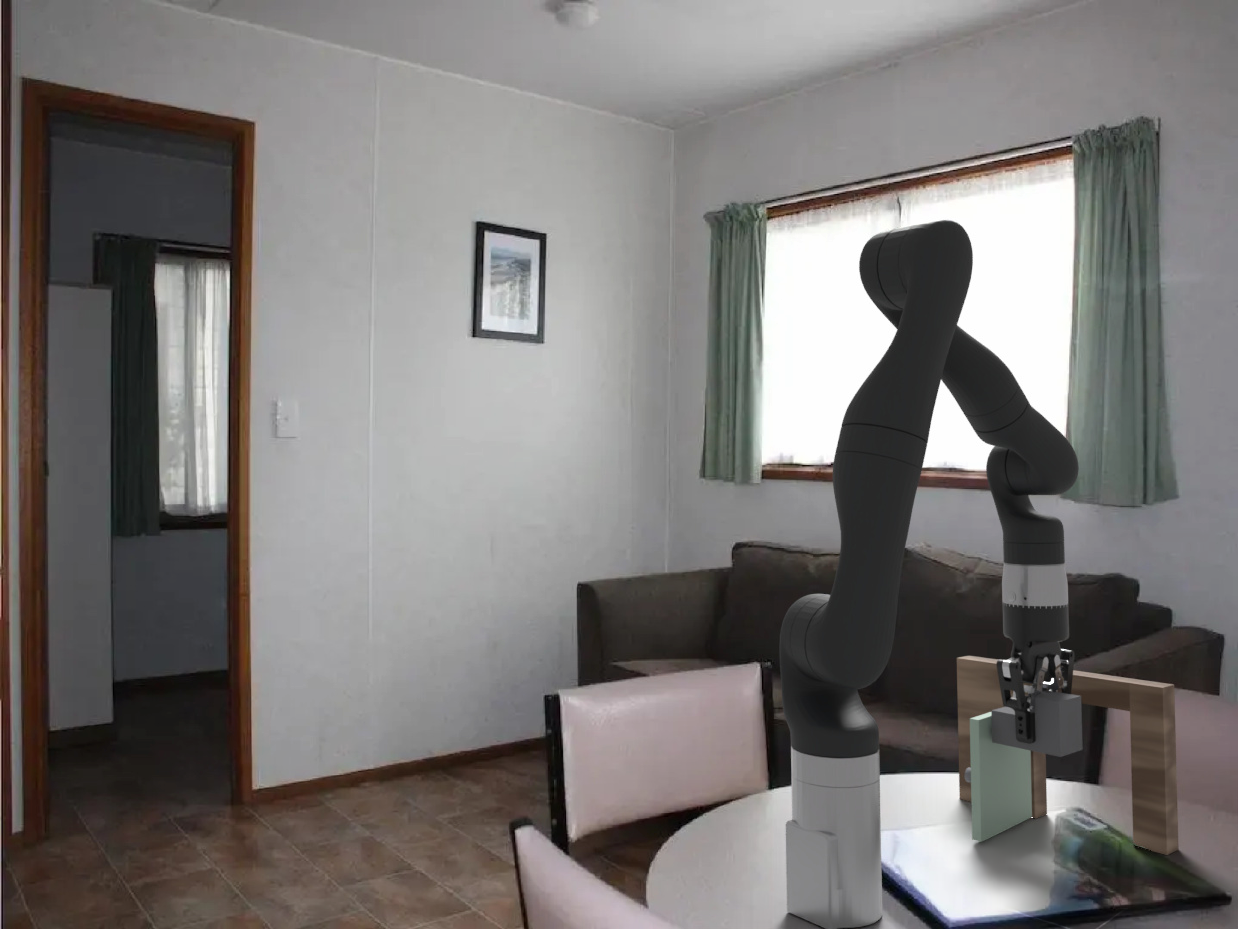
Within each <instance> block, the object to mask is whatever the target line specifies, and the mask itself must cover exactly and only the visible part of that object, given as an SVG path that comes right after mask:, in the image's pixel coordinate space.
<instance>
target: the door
mask: <svg viewBox="0 0 1238 929" xmlns="http://www.w3.org/2000/svg"><path fill="white" fill-rule="evenodd" d="M970 756H971V768H970V767H968V768H967V769H966V771H965V780H966V782H970V783H971V803H970V804H971V836H972V837H971V839H972V840H973V841H976V842H979V843H980V842H981V843H983V842H984V841H986V840H988V839H991V838H992V837H994V836H996V835H998V834H1000V833H1003V832H1004V831H1006V830H1008V829H1010V828H1013V827H1015V826H1016V825H1019V824H1021V823H1023V822H1024V821H1027V820H1029V819H1032V818H1031V817H1032V794H1031V751H1030V750H1025V749H1021V748H1016V747H1011V746H1007V745H1002V744H997V743H993V742H992V714H991V712H989V713H986V714H982V715H979V716H976V717H973V718H970Z"/></svg>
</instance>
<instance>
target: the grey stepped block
mask: <svg viewBox="0 0 1238 929" xmlns="http://www.w3.org/2000/svg"><path fill="white" fill-rule="evenodd" d="M1025 697H1026V701H1027V698H1028V695H1025ZM1033 713H1035V735H1036V741H1035V742H1034V743H1031V744H1028V743H1023V742H1019V741H1018V740H1017V739H1016V728H1015V726H1016V725H1015V711H1014V710H1013V709H1012V708H1009V707H1002V708H999V709H995V710H991V714H992V742H993V743H997V744H1002V745H1007V746H1011V747H1016V748H1021V749H1025V750H1030V751H1035V752H1039V753H1044V754H1046V755H1049V756H1053V757H1054V756H1055V757H1058V758H1062V757H1064V756H1069V755H1071V754H1074V753H1077V752H1080V751H1083V749H1084V748H1083V722H1082V721H1083V718H1082V717H1083V716H1082V714H1083V712H1082V703H1081V696H1079V695H1073V694H1066V693H1060V692H1053V691H1048V690H1045V691H1042V692H1041V694H1039V695H1038V696H1037V697H1036V698H1035V710H1034V712H1033Z"/></svg>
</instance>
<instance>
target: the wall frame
mask: <svg viewBox="0 0 1238 929" xmlns="http://www.w3.org/2000/svg"><path fill="white" fill-rule="evenodd" d="M998 660H999V659H996V658H991V657H990V658H989V657H983V656H982V657H981V656H975V655H964V656H959V657H956V684H957V689H956V690H957V691H956V692H957V693H956V694H957V731H958V733H957V734H958V736H957V738H958V781H959V783H958V784H959V786H958V787H959V799H960V800H962V801H965V802H966V801H967V802H971V783H970V782H966V780H965V771H966V769H967V768H968V767H970V768H971V756H970V718H973V717H976V716H979V715H982V714H986V713H989V712H991V710H995V709H999V708H1002V707H1005V706H1004V705H1003V702H1002V696H1001V690H1000V684H999V678H998V672H997V666H996V664H997V661H998ZM1062 678H1063V677H1062ZM1063 683H1064V678H1063ZM1023 685H1028V686H1031V685H1033V684H1028V683H1023ZM1061 687H1063V685H1062V686H1061ZM1047 690H1048V688H1047ZM1010 694H1011V697H1013V691H1012V690H1010ZM1071 694H1073V695H1079V696H1081V704H1084V705H1089V706H1097V707H1102V708H1108V709H1113V710H1119V711H1125V712H1129V720H1130V721H1129V722H1130V723H1129V725H1130V762H1131V763H1130V764H1131V765H1130V766H1131V799H1132V801H1131V802H1132V803H1131V806H1132V842H1133V843H1135V844H1136V845H1138V846H1143V847H1145V848H1147V849H1149V850H1148V851H1150V850H1151V852H1153V853H1158V854H1162V855H1166V856H1169V855H1170V854H1172V853H1174V852H1176V851H1178V850H1179V820H1178V819H1179V818H1178V817H1179V816H1178V814H1179V813H1178V812H1179V811H1178V779H1177V776H1178V775H1177V741H1176V740H1177V738H1176V734H1177V733H1176V702H1175V698H1176V696H1175V695H1176V694H1175V684H1173V683H1165V682H1159V681H1153V680H1151V681H1150V680H1143V679H1137V678H1130V677H1125V676H1124V677H1122V676H1115V675H1109V674H1101V673H1095V672H1088V671H1083V670H1082V671H1081V670H1074V669H1073V678H1072V689H1071ZM1025 695H1028V693H1026V692H1025ZM1046 757H1047V754H1044V753H1039V752H1035V751H1031V794H1032V817H1033V818H1037V819H1039V818H1041V817H1040V816H1042V817H1045V816H1047V815H1048V802H1047V801H1048V798H1047V793H1048V792H1047V761H1046V760H1047V759H1046ZM1046 814H1047V815H1046ZM1044 815H1045V816H1044ZM1038 817H1039V818H1038ZM1133 843H1132V844H1133Z"/></svg>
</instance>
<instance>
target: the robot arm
mask: <svg viewBox="0 0 1238 929" xmlns="http://www.w3.org/2000/svg"><path fill="white" fill-rule="evenodd" d="M973 259H974V255H973V247H972V242H971V239H970V236H969V234H968V233H967V231H966V229H965V228H964V226H962V225H961V224H960V223H959V222H957V221H954V220H951V219H933V220H928V221H927V220H926V221H923V222H918V223H913V224H908V225H904V226H903V225H902V226H900V227H896V228H891V229H887V230H884V231H881V232H878V233H876V234H875V235H872V236H871V237H870V238H869V239H868V240H867V241H866V243H865V244H864V245H863V248H862V250H861V253H860V256H859V264H858V270H859V276H860V281H861V283H862V286H863V288H864V291H865V292H866V294H867V296H868V297H869V299H870V300H871V301H872V303H873V304H874V305H875V307H876V308H877V309H878V310H879V311H880V312H881V313H882V315H883V316H884V318H886V319H887V320H888V321H889V322H890V323H891V325H892V326H893V327H894V328H895V329H896V332H895V335H894V337H893V339H892V341H891V343H890V345H889V347H888V348H887V350H886V351H885V353H884V354H883V355H882V357H881V359H880V360H879V361H878V363H877V364H876V365H875V367H874V368H873V369H872V371H871V372H870V373H869V374H868V375H867V377H866V379H865V380H864V381H863V383H862V384H861V385H860V387H859V388H858V390H857V391H856V393H855V394H854V396H853V397H852V399H851V400H850V402H849V404H848V406H847V408H846V409H845V410H846V411H845V414H844V415H843V420H842V423H841V427H840V431H839V436H838V441H837V444H836V448H835V454H834V457H833V465H832V486H833V493H834V494H833V495H834V500H835V505H836V511H837V516H838V522H839V530H840V550H839V551H840V552H839V558H838V564H837V568H836V572H835V576H834V582H833V585H832V589H831V592H830V594H827V593H826V594H824V593H812V594H807V595H804V596H802V597H800V598H799V599H797V600H796V601H794V603H792V604H791V606H790V607H789V608H788V610H787V611H786V614H785V616H784V618H783V621H782V623H781V627H780V633H779V668H780V670H779V671H780V683H781V684H780V685H781V701H782V702H781V703H782V709H783V710H782V711H783V716H784V718H785V720H786V723H787V724H786V725H788V729H789V733H790V759H791V760H790V764H791V766H790V767H791V772H790V773H791V774H790V775H791V782H790V783H791V819H790V820H788V821H786V822H785V866H786V868H785V869H786V872H785V873H786V874H785V875H786V912H787V913H790V914H792V915H794V916H796V917H799V918H801V919H804V920H805V921H807V922H810V923H812V924H815V925H817V926H820V927H822V928H824V929H843V928H844V929H848V928H849V929H850V928H853V929H854V928H861V927H864V926H870V925H872V924H875V923H876V922H878V920H880V919H881V918H882V916H883V887H882V885H883V882H882V881H883V880H882V879H883V876H882V832H881V830H882V828H881V823H882V822H881V782H880V781H881V780H880V779H881V778H880V777H881V771H880V770H881V767H880V766H881V765H880V764H881V763H880V731H879V726H878V723H877V721H876V720H875V718H874V717H873V716H872V715H871V714H870V712H868V710H867V709H866V707H865V705H864V704H863V701H862V700H861V697H860V695H859V692H858V690H861V689H865V688H867V687H868V686H870V685H872V684H873V683H875V682H876V681H877V679H879V677H880V676H881V675H882V673H883V672H884V670H885V668H886V667H887V665H888V663H889V660H890V657H891V653H892V649H893V646H894V639H895V631H896V623H897V614H898V606H899V605H898V601H899V594H900V584H901V575H902V567H903V563H904V562H903V560H904V556H905V550H906V545H907V539H908V535H909V529H910V525H911V520H912V514H913V507H914V503H915V499H916V494H917V490H918V486H919V483H920V479H921V475H922V470H923V466H924V462H925V457H926V452H927V447H928V442H929V437H930V431H931V425H932V420H933V419H932V418H933V415H934V410H935V405H936V402H937V398H938V397H937V396H938V392H939V389H940V384H941V381H942V383H943V384H944V386H945V387H946V388H947V390H948V391H949V392H950V394H951V395H952V397H953V398H954V400H955V401H956V403H957V405H958V407H959V409H961V411H962V414H963V415H964V416H965V418H966V419H967V421H968V423H969V424H970V426H971V428H972V429H973V431H974V432H975V434H976V435H977V437H978V438H979V440H981V441H982V442H984V444H987V445H990V446H993V447H992V449H991V451H990V452H989V454H988V456H987V460H986V467H985V468H986V470H985V473H986V479H987V483H988V487H989V489H990V492H991V495H992V499H993V502H994V505H995V509H996V512H997V516H998V521H999V523H1000V526H1001V529H1002V544H1003V546H1002V548H1003V550H1002V552H1003V570H1002V577H1001V579H1002V580H1001V595H1002V600H1001V601H1002V629H1003V630H1002V631H1003V632H1002V633H1003V635H1004V637H1005V638H1007V639H1009V640H1011V641H1012V648H1011V649H1012V650H1011V651H1010V652H1011V653H1010V657H1009V658H1008V659H1001V658H1000V659H997V660H998V661H997V664H996V666H997V672H998V678H999V684H1000V690H1001V696H1002V702H1003V705H1004V706H1005V707H1009V708H1012V709H1013V710H1014V711H1015V725H1016V726H1015V728H1016V739H1017V740H1018V741H1019V742H1023V743H1028V744H1031V743H1034V742H1035V741H1036V735H1035V713H1033V712H1034V710H1035V698H1036V697H1037V696H1038V695H1039V694H1041V692H1042V691H1045V690H1047V688H1048V691H1053V692H1060V693H1066V694H1071V689H1072V678H1073V670H1074V664H1075V657H1076V656H1075V651H1074V650H1072V649H1071V650H1069V649H1064V648H1061V645H1060V642H1063V641H1066V640H1068V639H1069V637H1070V624H1069V623H1070V619H1069V616H1070V615H1069V584H1068V576H1067V573H1066V572H1067V570H1066V564H1065V561H1066V560H1065V559H1066V558H1065V529H1064V524H1063V522H1062V521H1061V519H1059V518H1058V517H1056V516H1054V515H1053V516H1052V515H1049V514H1045V513H1042V512H1039V511H1037V510H1036V509H1035V507H1034V506H1033V504H1032V502H1031V500H1030V496H1057V495H1060V494H1064V493H1067V492H1068V491H1069V490H1070V489H1071V488H1072V487H1073V486H1074V485H1075V484H1076V481H1077V480H1078V477H1079V461H1078V456H1077V453H1076V451H1075V449H1074V447H1073V446H1072V444H1071V442H1070V441H1069V440H1068V439H1067V438H1066V437H1065V435H1064V434H1063V433H1062V432H1061V430H1059V429H1058V428H1057V427H1055V426H1054V425H1053V424H1052V423H1051V422H1050V421H1049V420H1048V419H1047V418H1046V417H1044V415H1043V414H1041V413H1040V412H1039V411H1038V410H1036V409H1035V408H1034V407H1033V406H1032V405H1031V404H1030V401H1029V400H1028V398H1027V396H1026V394H1025V392H1024V390H1023V389H1022V388H1021V386H1020V384H1019V382H1018V380H1017V379H1016V377H1015V376H1014V374H1013V372H1012V371H1011V370H1010V368H1009V367H1008V366H1007V365H1006V363H1005V362H1004V361H1002V359H1001V358H1000V357H999V356H997V354H996V353H994V352H993V351H992V350H991V349H989V348H988V347H987V346H985V345H984V344H983V343H981V342H980V341H978V340H977V339H976V338H974V337H973V336H971V335H970V334H969V333H968V332H967V331H965V330H964V329H963V328H961V326H959V325H958V324H959V323H958V322H959V319H960V316H961V313H962V311H963V308H964V305H965V301H966V299H967V295H968V291H969V288H970V284H971V280H972V273H973V265H974V264H973V263H974V262H973V261H974V260H973ZM1062 677H1063V678H1064V683H1063V678H1062ZM1023 683H1028V684H1033V685H1031V686H1028V685H1023ZM1062 685H1063V687H1061V686H1062ZM1010 690H1012V691H1013V697H1011V694H1010ZM1025 692H1026V693H1028V698H1027V701H1026V697H1025Z"/></svg>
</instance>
